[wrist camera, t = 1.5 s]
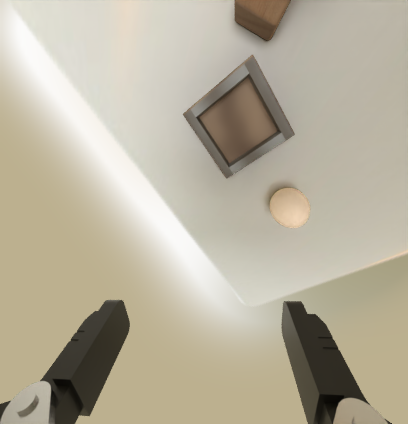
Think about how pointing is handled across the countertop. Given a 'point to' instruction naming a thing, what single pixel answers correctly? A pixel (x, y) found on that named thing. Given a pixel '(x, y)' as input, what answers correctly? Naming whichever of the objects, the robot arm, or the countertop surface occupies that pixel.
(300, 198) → the egg
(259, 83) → the holder
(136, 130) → the countertop surface
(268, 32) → the wooden block
